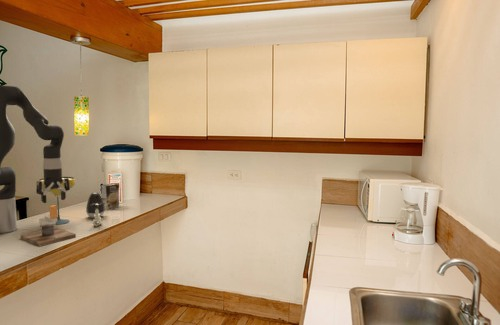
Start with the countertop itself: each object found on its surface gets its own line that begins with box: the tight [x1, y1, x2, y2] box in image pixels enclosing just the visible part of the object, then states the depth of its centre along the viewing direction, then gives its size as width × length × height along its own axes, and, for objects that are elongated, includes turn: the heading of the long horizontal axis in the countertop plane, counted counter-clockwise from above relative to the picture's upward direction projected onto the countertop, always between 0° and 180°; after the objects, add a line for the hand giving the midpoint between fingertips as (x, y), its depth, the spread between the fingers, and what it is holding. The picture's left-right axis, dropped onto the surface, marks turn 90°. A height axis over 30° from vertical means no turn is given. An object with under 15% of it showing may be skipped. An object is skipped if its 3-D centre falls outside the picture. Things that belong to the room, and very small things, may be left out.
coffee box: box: [101, 183, 120, 211], centre depth 233 cm, size 9×6×16 cm
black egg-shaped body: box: [85, 191, 106, 219], centre depth 211 cm, size 10×10×15 cm
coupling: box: [38, 204, 58, 228], centre depth 169 cm, size 7×12×11 cm, turn 52°
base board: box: [19, 225, 77, 247], centre depth 172 cm, size 19×17×6 cm
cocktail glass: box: [38, 176, 76, 226], centre depth 198 cm, size 18×18×25 cm
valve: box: [90, 203, 103, 227], centre depth 194 cm, size 7×7×12 cm
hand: (53, 201), depth 166 cm, fingers open, 8 cm apart
